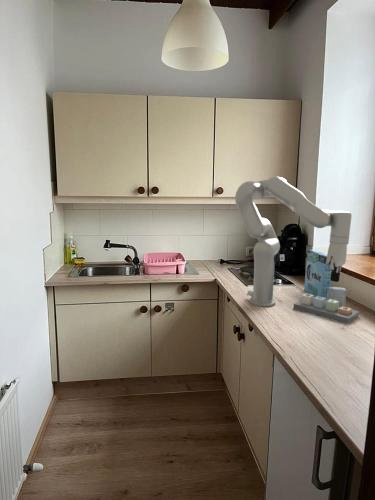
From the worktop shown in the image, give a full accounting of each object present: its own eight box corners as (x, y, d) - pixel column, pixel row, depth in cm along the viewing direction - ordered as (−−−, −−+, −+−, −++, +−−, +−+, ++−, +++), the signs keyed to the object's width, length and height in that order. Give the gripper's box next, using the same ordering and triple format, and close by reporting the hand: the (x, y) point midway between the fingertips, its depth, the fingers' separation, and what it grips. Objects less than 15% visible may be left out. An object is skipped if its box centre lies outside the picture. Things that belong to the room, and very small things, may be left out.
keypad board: (293, 308, 161) (293, 303, 160) (305, 303, 169) (305, 298, 169) (348, 324, 143) (348, 318, 143) (358, 316, 151) (359, 311, 151)
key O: (301, 303, 162) (302, 294, 161) (305, 301, 165) (306, 292, 164) (309, 305, 159) (310, 296, 158) (313, 303, 162) (314, 294, 161)
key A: (325, 309, 154) (326, 300, 153) (329, 307, 156) (330, 298, 156) (334, 311, 151) (335, 302, 150) (338, 309, 154) (338, 300, 153)
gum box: (303, 290, 191) (306, 249, 187) (312, 290, 191) (315, 249, 187) (320, 301, 172) (324, 256, 168) (330, 301, 172) (334, 256, 168)
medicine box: (343, 304, 167) (345, 287, 166) (345, 307, 163) (346, 290, 161) (326, 303, 169) (327, 286, 168) (327, 306, 165) (328, 288, 164)
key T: (313, 306, 158) (313, 297, 157) (317, 304, 160) (317, 295, 160) (321, 308, 155) (322, 299, 154) (325, 306, 158) (326, 297, 157)
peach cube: (338, 317, 150) (338, 308, 149) (341, 314, 153) (342, 305, 152) (347, 319, 147) (348, 310, 146) (351, 317, 150) (352, 308, 149)
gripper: (337, 237, 155) (333, 276, 159) (322, 240, 145) (318, 282, 149) (354, 239, 150) (350, 279, 154) (340, 242, 140) (336, 286, 143)
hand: (334, 280), depth 151 cm, fingers closed
